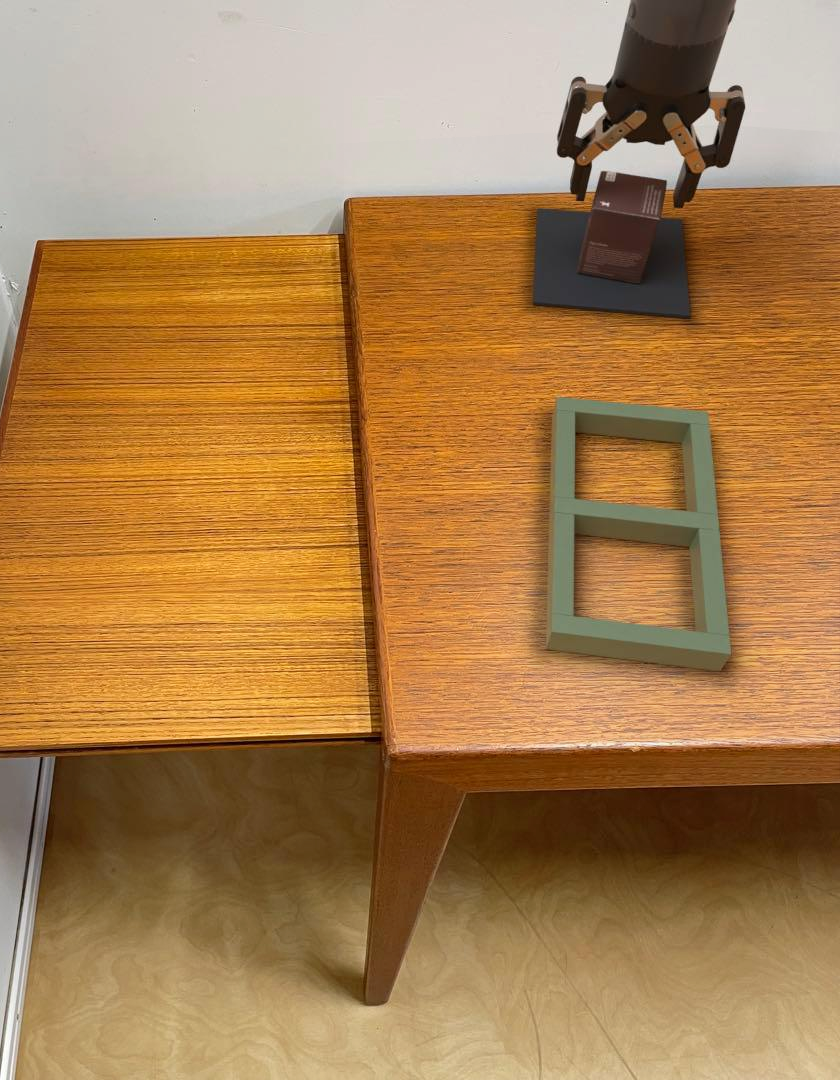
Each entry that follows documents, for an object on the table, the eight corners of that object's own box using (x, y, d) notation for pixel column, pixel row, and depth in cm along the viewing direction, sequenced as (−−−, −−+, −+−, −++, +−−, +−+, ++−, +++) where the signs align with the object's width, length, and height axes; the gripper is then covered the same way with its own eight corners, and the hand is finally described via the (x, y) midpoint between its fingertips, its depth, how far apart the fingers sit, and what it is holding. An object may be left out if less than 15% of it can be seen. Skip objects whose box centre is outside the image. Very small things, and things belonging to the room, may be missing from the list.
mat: (680, 222, 98) (682, 219, 97) (689, 319, 90) (690, 315, 89) (537, 211, 99) (537, 208, 99) (532, 305, 91) (533, 301, 91)
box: (639, 286, 92) (660, 220, 86) (574, 274, 93) (590, 207, 87) (648, 246, 95) (669, 179, 89) (584, 234, 96) (601, 168, 90)
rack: (551, 416, 83) (557, 396, 81) (699, 431, 82) (708, 411, 80) (545, 649, 70) (551, 631, 68) (720, 671, 69) (731, 654, 67)
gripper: (770, -4, 77) (707, 180, 90) (583, -13, 78) (547, 169, 92) (781, 46, 72) (713, 232, 86) (583, 36, 74) (546, 219, 87)
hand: (627, 199), depth 89 cm, fingers open, 8 cm apart
